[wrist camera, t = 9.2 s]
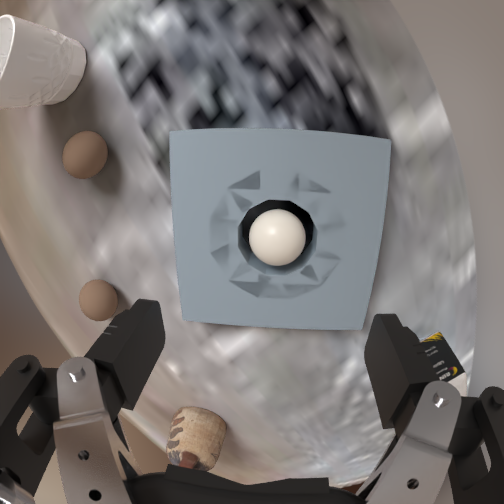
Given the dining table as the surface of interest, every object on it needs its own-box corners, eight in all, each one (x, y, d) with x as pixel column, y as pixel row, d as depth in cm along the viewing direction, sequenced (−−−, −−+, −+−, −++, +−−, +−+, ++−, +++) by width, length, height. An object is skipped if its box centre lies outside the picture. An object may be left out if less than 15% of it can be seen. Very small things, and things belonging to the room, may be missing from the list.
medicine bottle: (439, 328, 24) (488, 412, 13) (445, 367, 26) (482, 442, 15) (380, 359, 26) (410, 454, 15) (394, 393, 28) (417, 475, 17)
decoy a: (81, 134, 21) (52, 136, 17) (116, 127, 20) (88, 127, 17) (83, 176, 22) (54, 184, 18) (117, 173, 22) (90, 180, 18)
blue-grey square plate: (181, 132, 20) (169, 131, 18) (379, 139, 19) (391, 139, 16) (190, 304, 26) (182, 320, 23) (356, 313, 24) (361, 329, 22)
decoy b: (89, 271, 26) (66, 289, 22) (120, 274, 25) (99, 294, 22) (97, 304, 27) (77, 325, 23) (128, 309, 27) (109, 332, 23)
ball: (252, 203, 22) (245, 215, 18) (305, 205, 21) (309, 218, 18) (252, 252, 23) (245, 273, 19) (301, 254, 23) (304, 276, 19)
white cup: (105, 61, 18) (25, 39, 9) (55, 125, 20) (-25, 133, 11) (72, 23, 16) (3, 1, 7) (28, 82, 19) (-42, 81, 9)
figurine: (172, 424, 34) (147, 492, 23) (178, 398, 31) (148, 477, 20) (220, 439, 34) (204, 509, 23) (233, 416, 31) (216, 498, 20)
